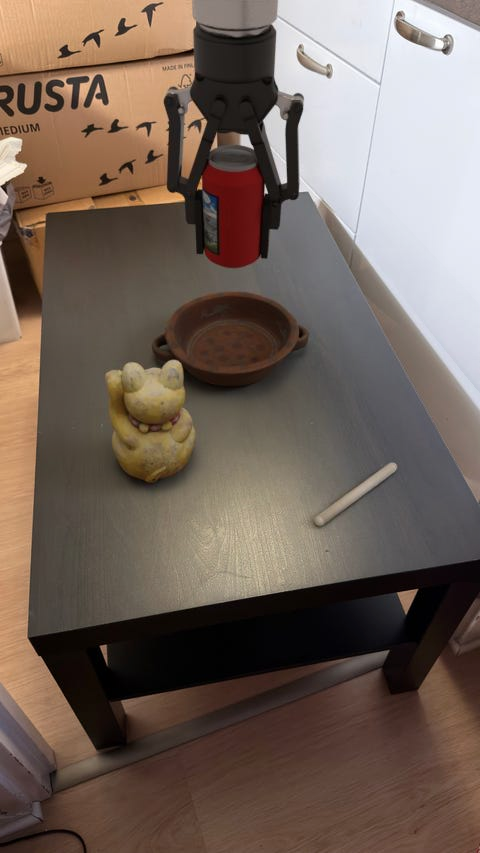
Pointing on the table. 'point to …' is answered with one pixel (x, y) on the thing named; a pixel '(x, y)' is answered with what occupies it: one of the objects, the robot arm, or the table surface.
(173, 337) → the dish
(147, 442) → the decorative figurine
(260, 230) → the beverage can
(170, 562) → the table surface
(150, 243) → the table surface
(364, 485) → the wooden stick
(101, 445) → the table surface
